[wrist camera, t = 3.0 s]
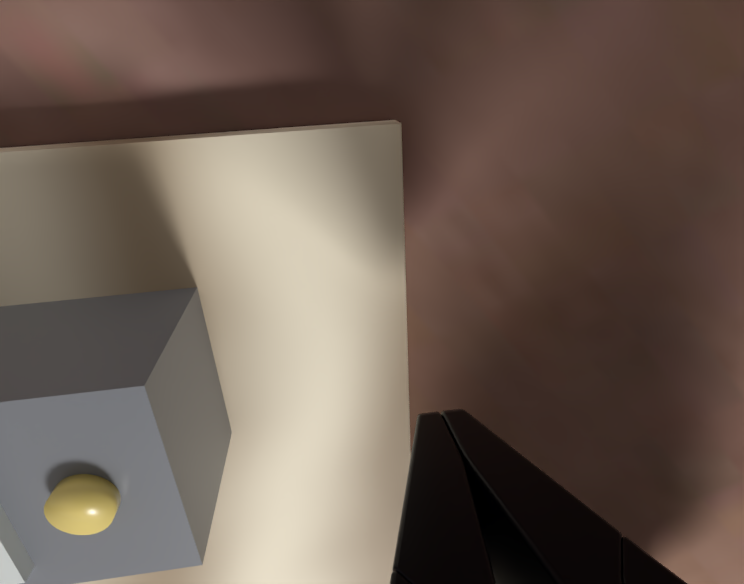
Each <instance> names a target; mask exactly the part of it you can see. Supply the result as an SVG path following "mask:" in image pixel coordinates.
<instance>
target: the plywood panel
mask: <svg viewBox="0 0 744 584" xmlns="http://www.w3.org/2000/svg"><path fill="white" fill-rule="evenodd" d="M194 287H197V288H198V293H199V297H200V301H201V305H202V309H203V314H204V318H205V322H206V326H207V330H208V335H209V339H210V343H211V347H212V351H213V355H214V360H215V364H216V368H217V372H218V376H219V381H220V385H221V389H222V393H223V397H224V401H225V406H226V410H227V414H228V418H229V422H230V427H231V431H232V434H231V439H230V443H229V448H228V452H227V457H226V461H225V466H224V470H223V475H222V479H221V484H220V488H219V493H218V497H217V502H216V506H215V511H214V515H213V520H212V524H211V529H210V534H209V538H208V543H207V547H206V552H205V556H204V561H203V565H199V566H193V567H186V568H179V569H172V570H165V571H158V572H151V573H145V574H138V575H131V576H124V577H117V578H110V579H104V580H97V581H90V582H83V583H76V584H390V578H391V574H392V572H393V571H392V568H393V562H394V556H395V550H396V543H397V537H398V531H399V525H400V519H401V513H402V507H403V501H404V495H405V489H406V483H407V476H408V470H409V464H410V458H411V450H410V414H409V379H408V343H407V308H406V272H405V236H404V201H403V165H402V130H401V123H400V122H398V121H396V120H385V121H371V122H357V123H343V124H329V125H315V126H301V127H287V128H273V129H259V130H245V131H231V132H217V133H203V134H189V135H175V136H161V137H147V138H133V139H119V140H105V141H91V142H77V143H63V144H49V145H35V146H21V147H8V148H0V307H1V306H11V305H21V304H31V303H41V302H52V301H62V300H72V299H82V298H92V297H103V296H113V295H123V294H133V293H143V292H154V291H164V290H174V289H184V288H194Z"/></svg>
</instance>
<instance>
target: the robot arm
mask: <svg viewBox="0 0 744 584" xmlns="http://www.w3.org/2000/svg"><path fill="white" fill-rule="evenodd" d="M392 571H393V572H392V574H391V578H390V584H687V583H686V582H684V581H683V580H682V579H680V578H679V577H678V576H676V575H675V574H674V573H673V572H671V571H670V570H669V569H667V568H666V567H665V566H663V565H662V564H661V563H659V562H658V561H657V560H655V559H654V558H653V557H651V556H650V555H649V554H647V553H646V552H645V551H643V550H642V549H641V548H640V547H638V546H637V545H636V544H635V543H633V542H632V541H631V540H629V539H628V538H627V537H622V535H621V533H620V532H619V531H618V530H616V529H615V528H614V527H613V526H611V525H610V524H609V523H608V522H606V521H605V520H604V519H602V518H601V517H600V516H599V515H597V514H596V513H595V512H593V511H592V510H591V509H590V508H588V507H587V506H586V505H585V504H583V503H582V502H581V501H579V500H578V499H577V498H576V497H574V496H573V495H572V494H571V493H569V492H568V491H567V490H565V489H564V488H563V487H562V486H560V485H559V484H558V483H557V482H555V481H554V480H553V479H551V478H550V477H549V476H548V475H546V474H545V473H544V472H543V471H541V470H540V469H539V468H537V467H536V466H535V465H534V464H532V463H531V462H530V461H529V460H527V459H526V458H525V457H523V456H522V455H521V454H520V453H518V452H517V451H516V450H515V449H513V448H512V447H511V446H509V445H508V444H507V443H506V442H504V441H503V440H502V439H500V438H499V437H498V436H497V435H495V434H494V433H493V432H492V431H490V430H489V429H488V428H486V427H485V426H484V425H483V424H481V423H480V422H479V421H478V420H476V419H475V418H474V417H472V416H471V415H470V414H469V413H467V412H466V411H465V410H463V409H454V410H446V411H443V412H441V414H440V413H438V412H430V413H422V414H419V415H418V417H417V422H416V428H415V434H414V440H413V446H412V452H411V458H410V464H409V470H408V476H407V483H406V489H405V495H404V501H403V507H402V513H401V519H400V525H399V531H398V537H397V543H396V550H395V556H394V562H393V568H392Z"/></svg>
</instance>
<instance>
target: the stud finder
mask: <svg viewBox="0 0 744 584" xmlns="http://www.w3.org/2000/svg"><path fill="white" fill-rule="evenodd" d="M231 434H232V431H231V427H230V422H229V418H228V414H227V410H226V406H225V401H224V397H223V393H222V389H221V385H220V381H219V376H218V372H217V368H216V364H215V360H214V355H213V351H212V347H211V343H210V339H209V335H208V330H207V326H206V322H205V318H204V314H203V309H202V305H201V301H200V297H199V293H198V288H197V287H194V288H184V289H174V290H164V291H154V292H143V293H133V294H123V295H113V296H103V297H92V298H82V299H72V300H62V301H52V302H41V303H31V304H21V305H11V306H1V307H0V584H76V583H83V582H90V581H97V580H104V579H110V578H117V577H124V576H131V575H138V574H145V573H151V572H158V571H165V570H172V569H179V568H186V567H193V566H199V565H203V561H204V556H205V552H206V547H207V543H208V538H209V534H210V529H211V524H212V520H213V515H214V511H215V506H216V502H217V497H218V493H219V488H220V484H221V479H222V475H223V470H224V466H225V461H226V457H227V452H228V448H229V443H230V439H231Z"/></svg>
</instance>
